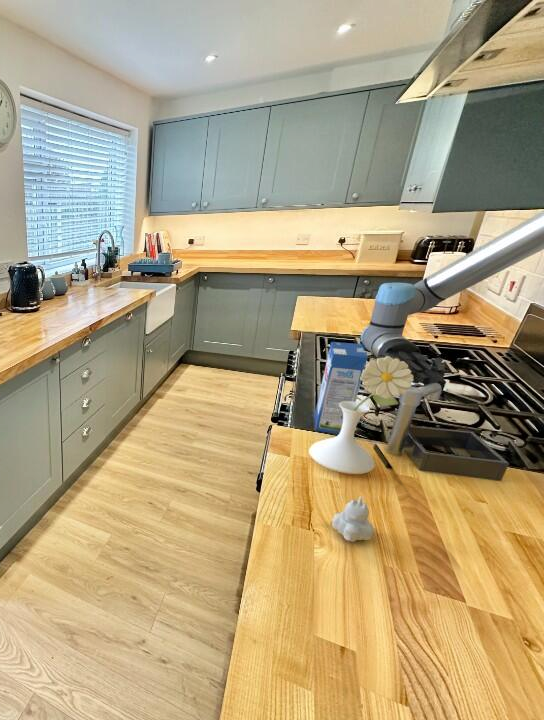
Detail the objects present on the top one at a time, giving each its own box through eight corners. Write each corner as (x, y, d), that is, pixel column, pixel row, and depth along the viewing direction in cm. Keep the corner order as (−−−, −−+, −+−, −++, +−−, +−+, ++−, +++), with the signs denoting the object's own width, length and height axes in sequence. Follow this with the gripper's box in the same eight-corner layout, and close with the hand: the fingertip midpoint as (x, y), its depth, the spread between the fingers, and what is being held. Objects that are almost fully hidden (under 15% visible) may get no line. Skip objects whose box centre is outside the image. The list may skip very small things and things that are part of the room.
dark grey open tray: (464, 454, 90) (473, 431, 88) (498, 488, 79) (509, 463, 77) (393, 446, 94) (400, 424, 92) (416, 477, 84) (424, 453, 82)
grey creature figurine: (370, 532, 71) (383, 494, 68) (367, 556, 66) (380, 516, 63) (332, 519, 74) (342, 482, 71) (326, 541, 70) (337, 503, 67)
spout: (425, 394, 89) (431, 378, 88) (443, 400, 87) (449, 383, 85) (393, 405, 86) (399, 388, 84) (412, 411, 83) (417, 393, 82)
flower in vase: (302, 467, 89) (328, 357, 79) (312, 444, 97) (336, 341, 87) (380, 489, 81) (419, 370, 71) (384, 462, 89) (419, 351, 79)
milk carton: (346, 435, 99) (367, 356, 92) (315, 430, 102) (333, 353, 95) (343, 418, 107) (362, 344, 99) (314, 413, 110) (331, 341, 102)
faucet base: (395, 450, 92) (412, 396, 87) (410, 470, 86) (430, 413, 80) (373, 448, 94) (389, 394, 89) (386, 467, 87) (404, 410, 82)
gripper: (422, 367, 106) (473, 406, 86) (362, 363, 111) (397, 400, 91) (432, 339, 104) (486, 372, 83) (369, 336, 108) (407, 368, 88)
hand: (440, 387), depth 87 cm, fingers closed
